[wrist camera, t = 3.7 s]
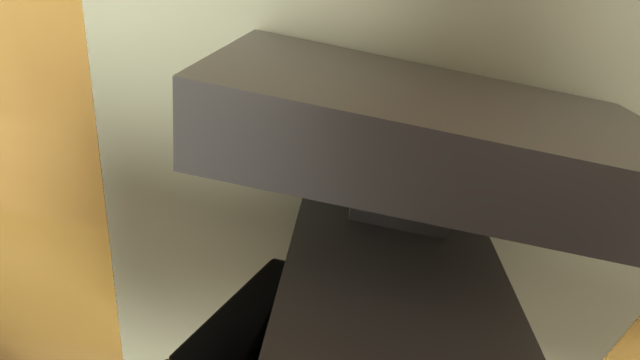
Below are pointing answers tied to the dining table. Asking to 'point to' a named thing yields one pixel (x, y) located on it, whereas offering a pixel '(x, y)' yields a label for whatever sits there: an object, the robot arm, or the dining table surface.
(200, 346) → the robot arm
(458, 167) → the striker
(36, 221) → the dining table surface
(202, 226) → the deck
